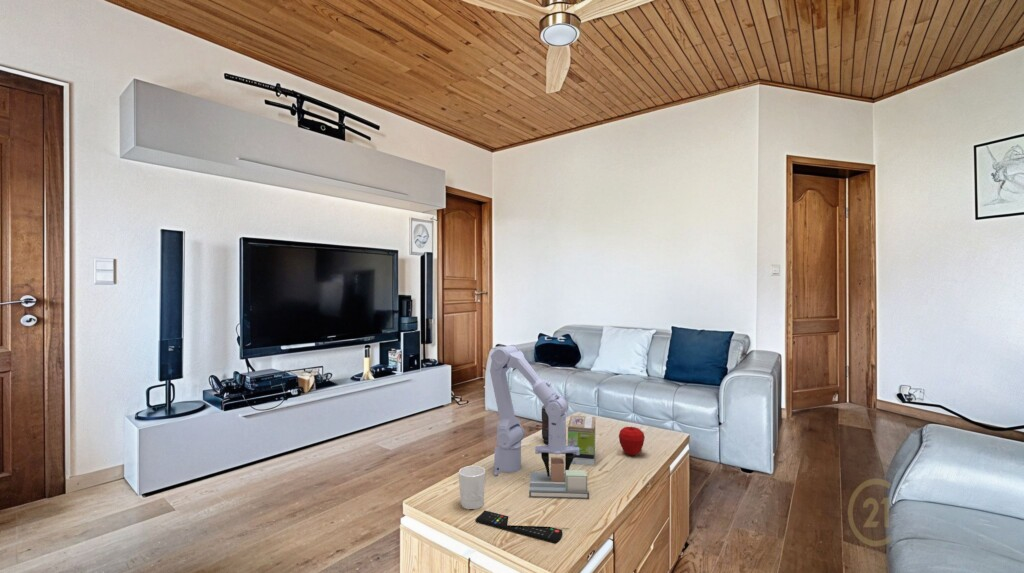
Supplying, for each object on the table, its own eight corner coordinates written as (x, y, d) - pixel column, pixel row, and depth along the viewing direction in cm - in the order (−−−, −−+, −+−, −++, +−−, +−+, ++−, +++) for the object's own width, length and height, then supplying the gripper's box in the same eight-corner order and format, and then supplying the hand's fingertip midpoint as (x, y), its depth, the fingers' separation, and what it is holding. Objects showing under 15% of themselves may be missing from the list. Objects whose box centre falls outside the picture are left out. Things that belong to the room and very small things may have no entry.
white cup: (474, 513, 125) (474, 478, 125) (453, 506, 129) (453, 472, 129) (490, 502, 131) (490, 469, 131) (469, 495, 135) (469, 463, 136)
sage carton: (566, 495, 133) (566, 475, 133) (565, 489, 137) (565, 470, 137) (587, 495, 133) (587, 476, 133) (586, 489, 137) (586, 470, 137)
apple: (647, 459, 164) (647, 430, 164) (622, 458, 165) (622, 430, 165) (640, 449, 174) (640, 422, 174) (616, 449, 174) (616, 422, 174)
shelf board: (529, 501, 132) (529, 491, 132) (530, 475, 150) (530, 467, 150) (589, 503, 131) (589, 493, 131) (583, 476, 149) (583, 468, 149)
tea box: (595, 469, 155) (595, 427, 155) (566, 467, 157) (566, 426, 157) (595, 453, 170) (595, 415, 170) (569, 451, 172) (569, 414, 172)
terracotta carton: (564, 483, 141) (564, 465, 141) (551, 483, 141) (551, 464, 141) (563, 475, 147) (563, 457, 147) (551, 474, 148) (550, 457, 148)
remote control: (484, 515, 125) (484, 510, 125) (564, 535, 114) (564, 530, 114) (475, 524, 120) (475, 519, 120) (557, 546, 110) (557, 541, 110)
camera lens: (537, 443, 181) (537, 407, 181) (547, 437, 188) (547, 403, 188) (554, 447, 177) (554, 410, 177) (564, 441, 183) (564, 405, 183)
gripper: (535, 438, 141) (535, 480, 141) (580, 439, 140) (580, 481, 140) (535, 431, 148) (535, 471, 148) (578, 431, 147) (578, 472, 147)
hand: (557, 475), depth 144 cm, fingers open, 5 cm apart
